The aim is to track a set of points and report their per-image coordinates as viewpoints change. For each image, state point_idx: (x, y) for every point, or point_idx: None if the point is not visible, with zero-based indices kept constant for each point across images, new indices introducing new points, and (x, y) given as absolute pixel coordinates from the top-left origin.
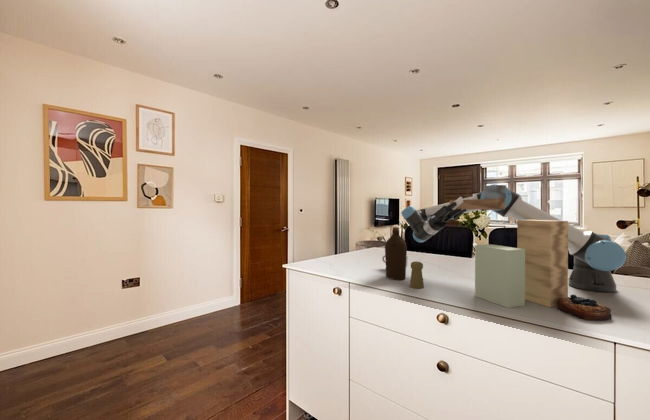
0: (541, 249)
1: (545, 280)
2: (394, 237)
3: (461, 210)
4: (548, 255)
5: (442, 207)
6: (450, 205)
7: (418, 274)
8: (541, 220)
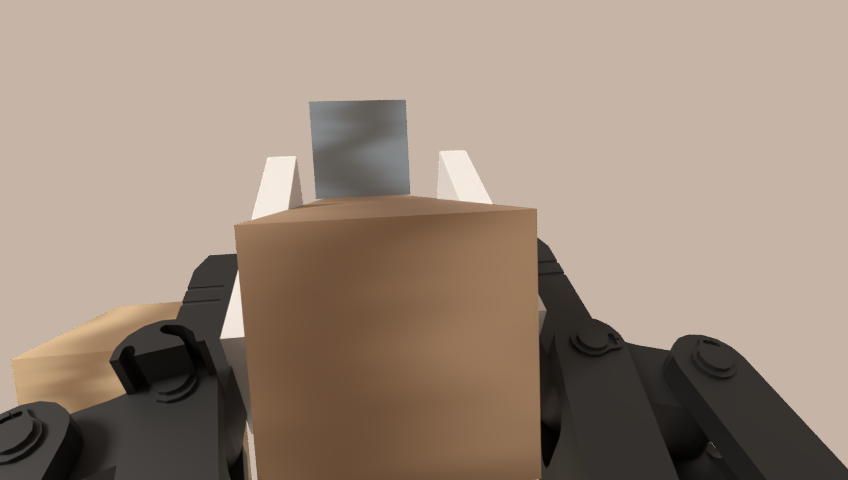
0: None
1: None
2: None
3: (242, 477)
4: (246, 435)
5: (775, 406)
6: (576, 312)
7: None
8: (159, 319)
